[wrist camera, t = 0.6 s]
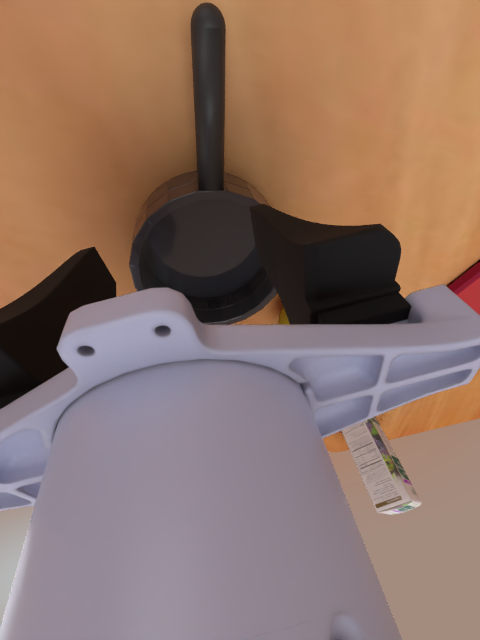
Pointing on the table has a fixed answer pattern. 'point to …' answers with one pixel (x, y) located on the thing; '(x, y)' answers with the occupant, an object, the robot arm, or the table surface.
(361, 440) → the syrup box
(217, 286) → the pan
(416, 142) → the table surface
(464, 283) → the red board with handle
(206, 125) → the pan handle
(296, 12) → the table surface
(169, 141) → the table surface
